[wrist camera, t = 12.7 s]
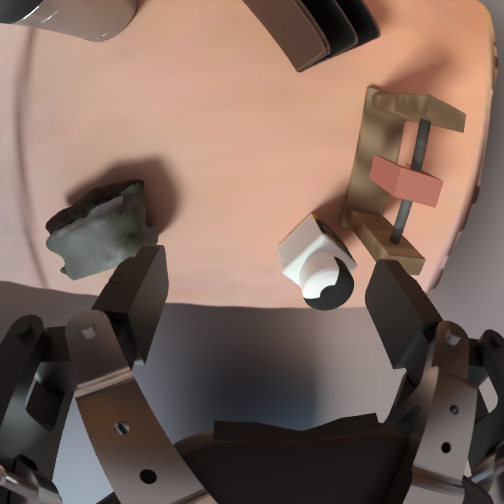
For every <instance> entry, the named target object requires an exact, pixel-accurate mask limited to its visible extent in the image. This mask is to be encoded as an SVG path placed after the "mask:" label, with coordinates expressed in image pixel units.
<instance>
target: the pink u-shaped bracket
mask: <svg viewBox="0 0 504 504" xmlns="http://www.w3.org/2000/svg"><path fill="white" fill-rule="evenodd" d="M410 167H411V165H409V164H406V166H405V167H402V166H400V165H398V164H396V163H394V162H392V161H390V160H388V159H386V158H384V157H382V156H378V155H374V159H373V163H372V168H371V172H370V177H369V178H370V179H371V180H372V181H374V182H375V183H376V184H378V185H379V186H381V187H382V188H383V189H384V190H386V191H387V192H388V193H390V194H391V195H392V196H393V197H397V198H401V199H405V200H409V201H413V202H417V203H421V204H424V205H428V206H432V207H435V208H436V205H437V201H438V198H439V195H440V191H441V187H442V184H443V181H442V180H440V179H438V178H436V177H434V176H432V175H431V174H429V173H427V172H425V171H423V170H421V172H418V171H415V170H411V169H410Z"/></svg>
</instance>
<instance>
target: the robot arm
mask: <svg viewBox="0 0 504 504" xmlns="http://www.w3.org/2000/svg"><path fill="white" fill-rule="evenodd" d="M136 7H137V0H0V23H5V24H15V25H22V26H29V27H35V28H40V29H45V30H50V31H55V32H59V33H63V34H67V35H71V36H75V37H79V38H82V39H85V40H89V41H94V42H99V41H104V40H107V39H110V38H112V37H114V36H115V35H117V34H118V33H120V32H121V31H122V30H123V29H124V28H125V27H126V26H127V25H128V24H129V22H130V21H131V19H132V18H133V16H134V14H135V11H136ZM168 287H169V281H168V272H167V264H166V254H165V248H164V246H163V245H151V244H143V245H142V246H141V248H140V249H139V251H138V253H137V254H136V256H135V257H128V258H127V259H125V260H124V261H123V262H121V263H120V264H119V265H118V267H117V268H116V270H115V271H114V273H113V275H112V276H111V277H110V279H109V281H108V283H107V284H106V285H105V287H104V289H103V290H102V292H101V294H100V295H99V297H98V299H97V300H96V302H95V304H94V305H93V307H92V309H91V310H85V311H82V312H80V313H78V314H76V315H75V316H73V317H72V318H71V319H70V320H69V322H68V323H67V325H66V326H62V327H51V328H45V326H44V323H43V322H42V320H41V318H39V317H38V316H36V315H26V316H23V317H21V318H19V319H18V320H17V321H15V322H14V324H12V326H11V327H10V329H9V331H8V332H7V334H6V336H5V338H4V339H3V341H2V343H1V344H0V504H62V503H63V501H62V498H61V497H60V495H59V492H58V490H57V488H56V486H55V485H54V483H53V482H52V478H53V473H54V467H55V462H56V458H57V453H58V449H59V444H60V440H61V436H62V432H63V429H64V425H65V421H66V418H67V414H68V411H69V407H70V404H71V401H72V398H73V395H74V393H75V399H76V402H77V405H78V408H79V411H80V414H81V417H82V420H83V423H84V426H85V428H86V431H87V434H88V436H89V439H90V441H91V444H92V446H93V448H94V451H95V453H96V455H97V458H98V460H99V462H100V464H101V466H102V468H103V470H104V473H105V475H106V476H107V478H108V480H109V482H110V484H111V486H112V488H113V490H114V492H112V493H111V494H109V495H108V496H107V497H105V498H104V499H103V500H101V501H99V502H98V503H96V504H504V338H503V337H502V336H501V335H500V334H499V333H497V332H495V331H494V330H486V331H485V332H484V333H483V335H482V336H481V337H480V339H479V340H477V339H471V338H468V336H467V334H466V332H465V331H464V329H462V327H460V326H459V325H458V324H456V323H454V322H452V321H443V319H442V318H441V316H440V314H439V313H438V311H437V310H436V309H435V307H434V305H433V304H432V303H431V301H430V299H429V298H427V295H426V294H425V292H424V291H422V288H421V286H420V285H419V284H418V282H417V281H416V280H415V279H414V278H413V277H411V276H410V275H409V274H408V273H407V272H406V271H405V269H404V268H403V267H402V265H401V264H400V263H399V261H397V260H391V259H379V260H378V261H377V263H376V265H375V268H374V271H373V273H372V276H371V279H370V282H369V284H368V287H367V289H366V293H365V303H366V307H367V309H368V311H369V313H370V315H371V318H372V320H373V322H374V324H375V326H376V329H377V331H378V333H379V336H380V338H381V340H382V343H383V345H384V347H385V350H386V352H387V355H388V357H389V360H390V362H391V364H392V367H393V369H400V368H406V370H407V371H406V373H405V374H404V375H403V377H402V380H401V384H400V386H399V389H398V392H397V395H396V398H395V400H394V403H393V406H392V408H391V411H390V413H389V415H388V417H387V418H386V420H385V421H384V423H379V422H378V419H377V415H376V413H372V414H365V415H359V416H352V417H344V418H340V419H337V420H334V421H332V422H329V423H326V424H323V425H321V426H318V427H314V428H311V429H308V430H305V431H297V430H292V429H286V428H281V427H276V426H271V425H266V424H262V423H254V422H228V421H214V430H212V431H206V432H202V433H198V434H194V435H192V436H189V437H186V438H184V439H182V440H180V441H178V442H176V443H175V444H172V442H171V441H170V439H169V438H168V436H167V434H166V433H165V431H164V430H163V428H162V426H161V425H160V423H159V422H158V420H157V418H156V416H155V415H154V413H153V411H152V409H151V407H150V406H149V404H148V402H147V400H146V398H145V397H144V395H143V393H142V391H141V389H140V387H139V385H138V383H137V381H136V379H135V377H134V375H133V373H132V368H133V365H134V364H138V365H143V366H145V363H146V360H147V356H148V353H149V349H150V346H151V343H152V340H153V337H154V334H155V331H156V328H157V325H158V322H159V319H160V316H161V313H162V310H163V307H164V304H165V301H166V298H167V295H168ZM488 376H489V378H490V380H491V382H492V384H493V386H494V389H495V391H496V393H497V396H498V403H497V406H496V407H495V409H494V410H493V411H491V412H490V413H488V410H487V407H486V405H485V402H484V400H483V397H482V395H481V392H480V390H479V388H478V387H479V386H480V385H481V384H482V383H483V382H484V381H485V380H486V378H487V377H488ZM34 377H35V379H36V380H37V381H36V383H35V386H34V388H33V391H32V393H31V396H30V398H29V401H28V404H27V407H26V408H25V399H26V396H27V393H28V391H29V388H30V386H31V383H32V381H33V379H34ZM467 458H468V461H469V465H470V469H471V474H472V475H471V476H470V477H466V476H465V475H463V474H464V470H465V466H466V462H467Z"/></svg>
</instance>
